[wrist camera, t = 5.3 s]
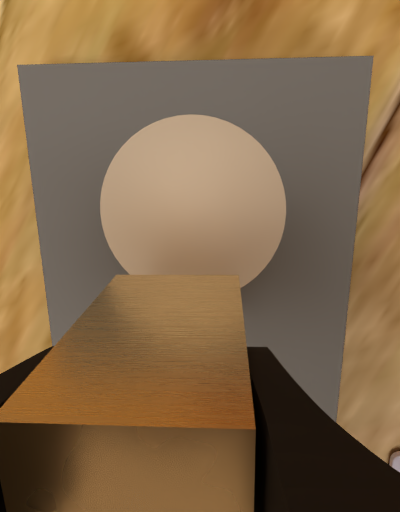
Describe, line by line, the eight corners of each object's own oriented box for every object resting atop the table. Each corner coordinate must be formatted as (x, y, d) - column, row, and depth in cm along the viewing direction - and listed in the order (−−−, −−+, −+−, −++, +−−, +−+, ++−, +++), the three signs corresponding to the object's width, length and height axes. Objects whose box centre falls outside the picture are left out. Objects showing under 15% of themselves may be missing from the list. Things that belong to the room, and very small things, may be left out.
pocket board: (352, 69, 17) (375, 54, 14) (314, 498, 23) (325, 542, 21) (45, 76, 18) (14, 64, 15) (90, 487, 24) (73, 528, 22)
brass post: (238, 274, 12) (255, 429, 5) (237, 383, 13) (250, 625, 7) (116, 274, 12) (-12, 421, 6) (125, 381, 14) (26, 610, 7)
